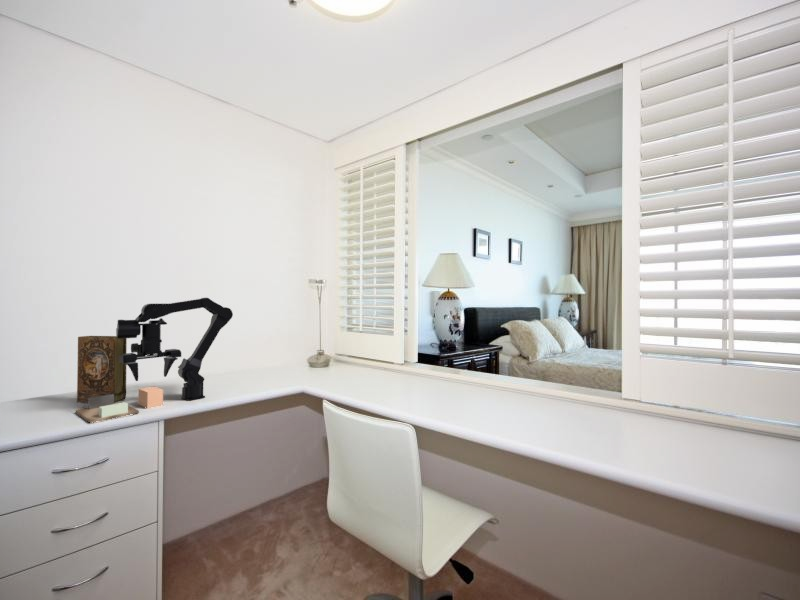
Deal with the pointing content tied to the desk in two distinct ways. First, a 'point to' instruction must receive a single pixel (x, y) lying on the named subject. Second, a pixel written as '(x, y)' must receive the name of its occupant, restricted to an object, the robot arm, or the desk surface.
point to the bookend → (100, 401)
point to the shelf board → (93, 414)
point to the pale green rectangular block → (113, 409)
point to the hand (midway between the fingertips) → (151, 378)
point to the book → (100, 367)
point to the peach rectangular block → (150, 397)
